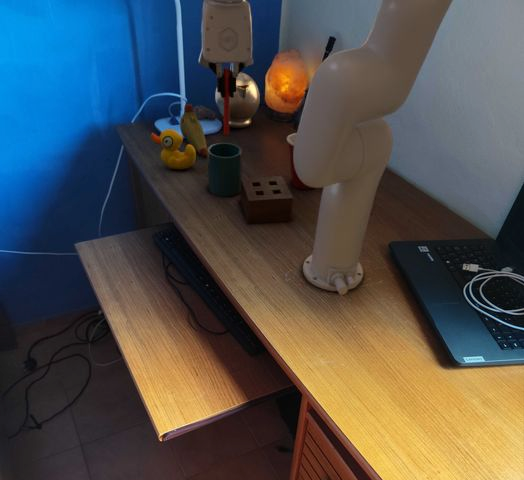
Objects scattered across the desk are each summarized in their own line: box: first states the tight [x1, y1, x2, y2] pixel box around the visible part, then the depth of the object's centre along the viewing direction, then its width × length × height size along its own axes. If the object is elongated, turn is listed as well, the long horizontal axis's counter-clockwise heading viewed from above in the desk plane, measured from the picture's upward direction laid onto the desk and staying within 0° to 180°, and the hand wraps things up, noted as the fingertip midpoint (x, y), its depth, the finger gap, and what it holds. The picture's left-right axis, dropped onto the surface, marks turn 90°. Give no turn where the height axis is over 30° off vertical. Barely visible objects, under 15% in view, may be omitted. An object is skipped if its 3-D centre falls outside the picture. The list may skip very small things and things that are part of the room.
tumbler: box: [207, 142, 243, 198], centre depth 116 cm, size 8×8×10 cm
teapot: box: [214, 71, 261, 129], centre depth 143 cm, size 18×14×16 cm
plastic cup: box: [286, 132, 313, 190], centre depth 119 cm, size 11×11×12 cm
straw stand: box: [240, 175, 294, 225], centre depth 111 cm, size 10×10×6 cm
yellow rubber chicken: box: [179, 103, 208, 157], centre depth 133 cm, size 20×5×10 cm, turn 24°
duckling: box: [150, 128, 197, 170], centre depth 123 cm, size 11×5×10 cm, turn 86°
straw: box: [223, 66, 231, 136], centre depth 104 cm, size 1×1×14 cm
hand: (226, 95), depth 103 cm, fingers closed on straw, 1 cm apart
